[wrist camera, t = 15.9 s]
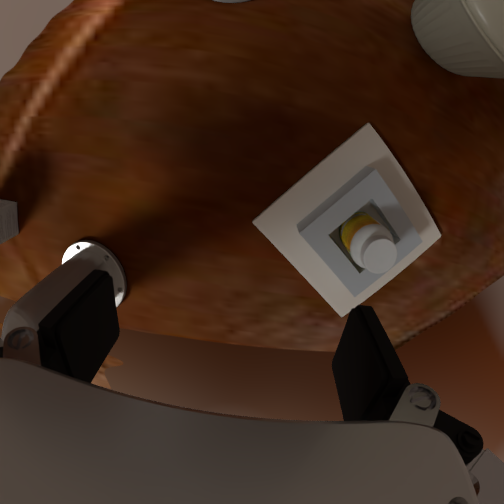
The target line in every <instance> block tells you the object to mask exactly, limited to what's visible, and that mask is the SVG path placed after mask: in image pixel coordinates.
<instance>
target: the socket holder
mask: <svg viewBox="0 0 504 504" xmlns="http://www.w3.org/2000/svg"><path fill="white" fill-rule="evenodd" d="M356 211H363V212H366V213H368V214H369V215H371V216H372V217H373V218H374V219H376V220H377V221H378V222H379V223H381V224H382V225H383V226H384V227H385V228H386V229H388V231H389V232H390V233H391V235H392V237H393V241H394V244H395V246H396V248H397V259H396V262H395V264H394V265H393V266H392V268H391V269H389V270H388V271H386V272H384V273H381V274H375V273H372V272H370V271H368V270H367V269H365V268H362V267H360V266H359V265H358V264H356V263H355V261H354V260H353V259H352V257H351V255H350V254H349V252H348V251H347V249H346V248H345V246H344V245H343V243H342V242H341V240H340V237H339V226H340V225H341V224H342V223H343V222H345V221H346V220H347V219H348V218H349V217H351V216H352V215H353V214H354V213H355V212H356ZM252 223H253V224H254V225H255V226H256V227H257V228H258V229H259V230H260V231H261V232H262V233H263V234H264V235H265V236H266V237H267V238H268V239H269V240H270V242H271V243H272V244H273V245H274V246H275V247H276V248H277V249H278V250H279V251H280V252H281V253H282V254H283V255H284V256H285V257H286V258H287V259H288V260H289V262H290V263H291V264H292V265H293V266H294V267H295V268H296V269H297V270H298V271H299V272H300V273H301V274H302V275H303V276H304V278H305V279H306V280H307V281H308V282H309V283H310V284H311V285H312V286H313V287H314V288H315V289H316V290H317V291H318V293H319V294H320V295H321V296H322V297H323V298H324V299H325V300H326V301H327V302H328V303H329V304H330V306H331V307H332V308H333V309H334V310H335V311H336V312H337V313H338V314H339V315H340V316H341V317H343V316H344V315H346V314H347V313H348V312H350V311H351V309H352V308H355V307H356V306H357V305H359V304H360V303H362V302H363V301H364V300H366V299H367V298H368V297H370V296H371V295H372V294H374V293H375V292H376V291H377V290H379V289H380V288H381V287H382V286H384V285H385V284H386V283H387V282H389V281H390V280H391V279H392V278H394V277H395V276H396V275H397V274H398V273H400V272H401V271H402V270H403V269H404V268H406V267H407V266H408V265H409V264H410V263H412V262H413V261H414V260H415V259H416V258H417V257H419V256H420V255H421V254H422V253H423V252H424V251H425V250H426V249H428V248H429V247H430V246H431V245H432V244H433V243H434V242H435V241H436V240H438V239H439V238H440V237H441V234H440V232H439V230H438V228H437V226H436V225H435V223H434V221H433V219H432V217H431V215H430V214H429V212H428V210H427V208H426V207H425V205H424V203H423V201H422V200H421V198H420V196H419V195H418V193H417V191H416V190H415V188H414V186H413V185H412V183H411V182H410V180H409V179H408V177H407V175H406V174H405V172H404V171H403V169H402V168H401V166H400V165H399V163H398V162H397V160H396V159H395V157H394V156H393V154H392V153H391V152H390V150H389V149H388V147H387V146H386V145H385V143H384V142H383V140H382V139H381V138H380V136H379V135H378V134H377V132H376V131H375V130H374V128H373V127H372V126H371V125H370V123H366V124H365V125H364V126H363V127H362V128H360V129H359V130H358V131H357V132H356V133H354V134H353V135H352V136H351V137H350V138H348V139H347V140H346V141H345V142H344V143H342V144H341V145H340V146H339V147H338V148H336V149H335V150H334V151H333V152H332V153H330V154H329V155H328V156H327V157H326V158H325V159H323V160H322V161H321V162H320V163H319V164H317V165H316V166H315V167H314V168H313V169H312V170H310V171H309V172H308V173H307V174H306V175H305V176H303V177H302V178H301V179H300V180H299V181H298V182H296V183H295V184H294V185H293V186H292V187H291V188H289V189H288V190H287V191H286V192H285V193H284V194H283V195H281V196H280V197H279V198H278V199H277V200H276V201H274V202H273V203H272V204H271V205H270V206H269V207H268V208H266V209H265V210H264V211H263V212H262V213H261V214H260V215H258V216H257V217H256V218H255V219H254V220H253V221H252Z"/></svg>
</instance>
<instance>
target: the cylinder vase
mask: <svg viewBox="0 0 504 504" xmlns="http://www.w3.org/2000/svg"><path fill="white" fill-rule="evenodd" d="M214 1H218V2H225V3H238V2H245V1H250V0H214Z"/></svg>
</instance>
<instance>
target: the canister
mask: <svg viewBox="0 0 504 504" xmlns="http://www.w3.org/2000/svg"><path fill="white" fill-rule="evenodd" d="M411 20H412V21H411V24H412V26H413V31H414V32H415V36H416V37H417V39H418V42H419V43H420V44H421V46H422V48H423V49H424V50H425V52H426V53H427V54H428V55H429V56H430V57H431V59H433V60H434V61H435V62H436V63H437V64H439V65H440V66H441V67H442V68H445V69H446V70H448V71H450V72H453V73H455V74H458V75H462V76H473V77H488V78H504V0H415V1H414V3H413V6H412V9H411Z"/></svg>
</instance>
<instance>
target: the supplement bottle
mask: <svg viewBox="0 0 504 504" xmlns="http://www.w3.org/2000/svg"><path fill="white" fill-rule="evenodd" d="M339 237H340V240H341V242H342V243H343V245H344V246H345V248H346V249H347V251H348V252H349V254H350V255H351V257H352V259H353V260H354V261H355V263H356V264H358V265H359V266H360V267H362V268H365V269H367V270H368V271H370V272H372V273H375V274H381V273H384V272H386V271H388V270H389V269H391V268H392V266H393V265H394V264H395V262H396V259H397V248H396V246H395V244H394V241H393V237H392V235H391V233H390V232H389V231H388V229H386V228H385V227H384V226H383V225H382V224H381V223H379V222H378V221H377V220H376V219H374V218H373V217H372V216H371V215H369V214H368V213H366V212H363V211H356V212H355V213H354V214H353V215H352V216H351V217H349V218H348V219H347V220H346V221H345V222H343V223H342V224H341V225H340V226H339Z"/></svg>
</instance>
